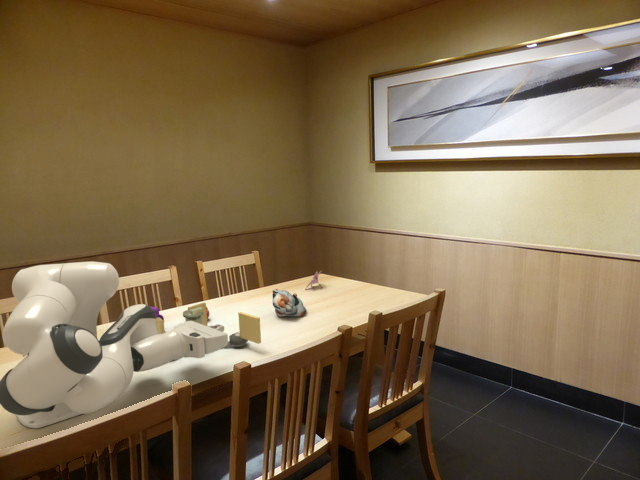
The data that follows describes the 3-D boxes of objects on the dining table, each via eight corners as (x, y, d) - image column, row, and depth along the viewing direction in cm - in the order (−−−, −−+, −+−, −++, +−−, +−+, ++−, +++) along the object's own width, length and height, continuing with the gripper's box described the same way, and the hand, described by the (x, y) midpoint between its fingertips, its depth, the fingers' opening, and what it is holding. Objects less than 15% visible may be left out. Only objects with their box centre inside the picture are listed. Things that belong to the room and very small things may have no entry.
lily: (322, 286, 239) (312, 270, 239) (335, 281, 230) (325, 265, 230) (306, 297, 232) (296, 281, 231) (319, 293, 223) (309, 277, 222)
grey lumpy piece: (312, 315, 192) (303, 291, 183) (287, 330, 188) (278, 307, 180) (295, 297, 203) (286, 274, 195) (271, 311, 199) (262, 288, 191)
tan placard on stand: (252, 352, 153) (251, 320, 151) (225, 342, 162) (223, 312, 160) (266, 345, 158) (265, 315, 156) (239, 336, 167) (238, 307, 165)
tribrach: (184, 372, 143) (180, 326, 141) (145, 353, 158) (141, 312, 156) (247, 345, 163) (245, 304, 160) (208, 330, 178) (205, 293, 175)
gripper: (165, 342, 143) (203, 329, 153) (204, 360, 130) (242, 344, 140) (163, 323, 142) (201, 311, 152) (202, 338, 128) (240, 324, 139)
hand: (221, 327), depth 146 cm, fingers closed
